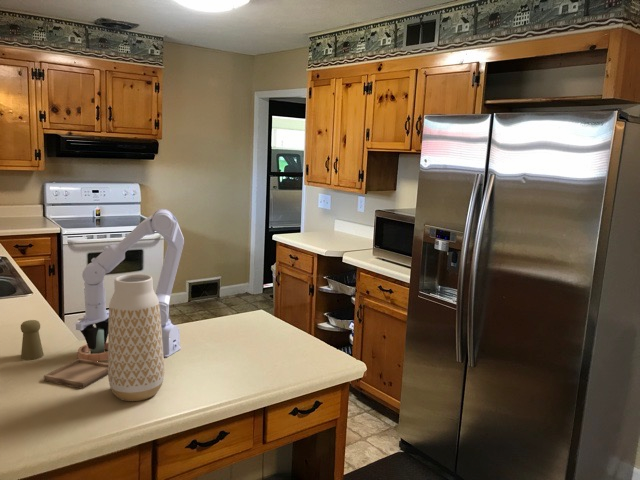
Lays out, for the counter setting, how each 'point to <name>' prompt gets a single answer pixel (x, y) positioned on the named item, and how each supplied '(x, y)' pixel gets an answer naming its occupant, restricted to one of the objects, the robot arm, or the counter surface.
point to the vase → (135, 339)
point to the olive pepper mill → (31, 340)
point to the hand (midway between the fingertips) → (97, 345)
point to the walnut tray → (78, 373)
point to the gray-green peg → (99, 342)
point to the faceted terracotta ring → (93, 357)
